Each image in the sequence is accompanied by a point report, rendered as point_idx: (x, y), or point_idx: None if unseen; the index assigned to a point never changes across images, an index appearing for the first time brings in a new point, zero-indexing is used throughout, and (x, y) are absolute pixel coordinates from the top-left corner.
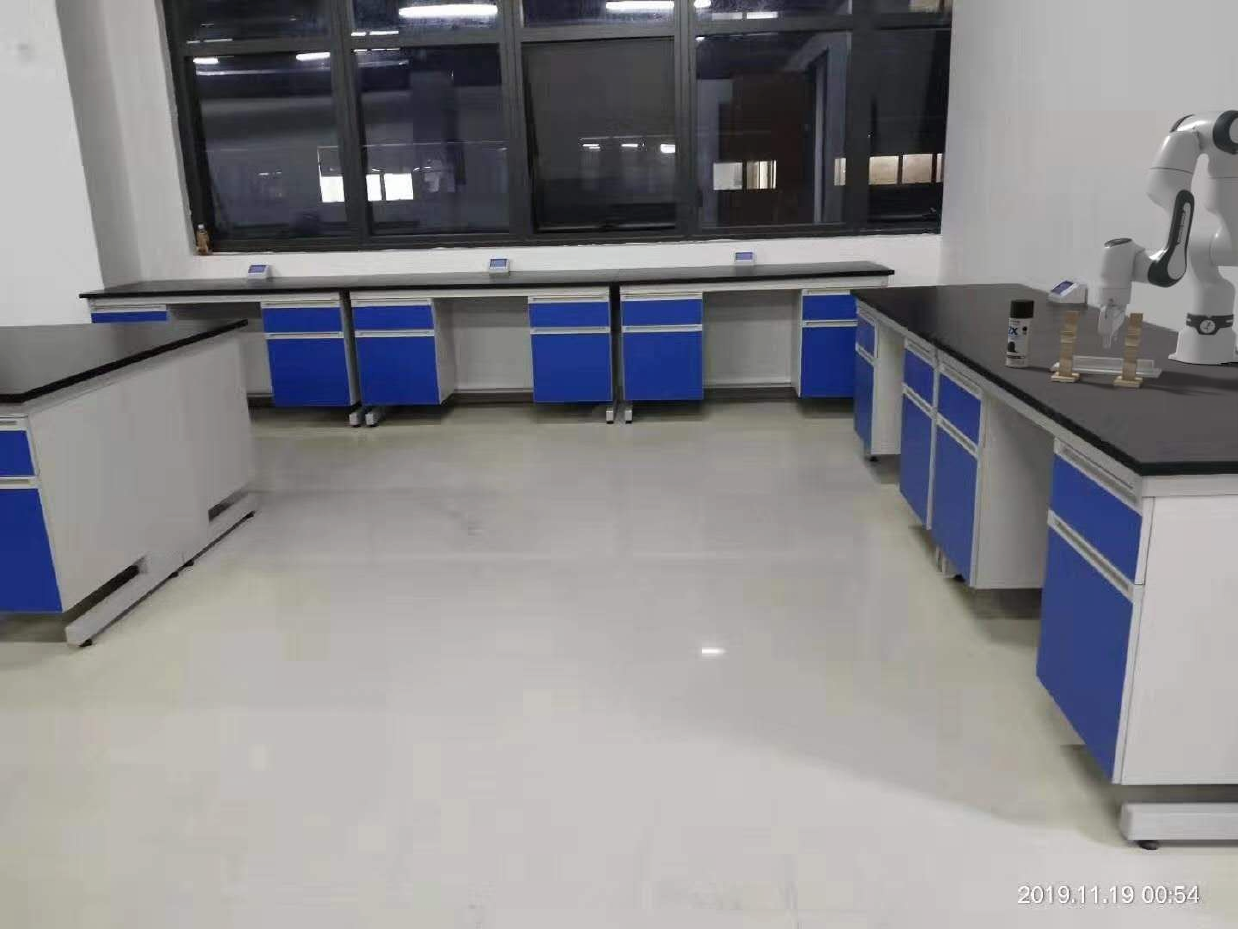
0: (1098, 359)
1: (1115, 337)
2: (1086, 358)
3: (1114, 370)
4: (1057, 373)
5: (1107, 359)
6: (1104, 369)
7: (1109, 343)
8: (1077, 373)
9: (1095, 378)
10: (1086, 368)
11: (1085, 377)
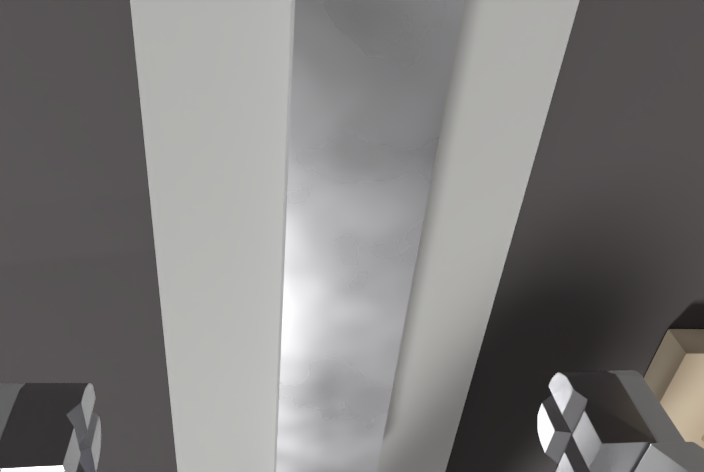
0: (400, 333)
1: (66, 447)
2: (383, 419)
3: None
4: None
5: (413, 262)
6: None
7: (670, 429)
8: (684, 362)
9: (700, 228)
10: None
11: (655, 293)
